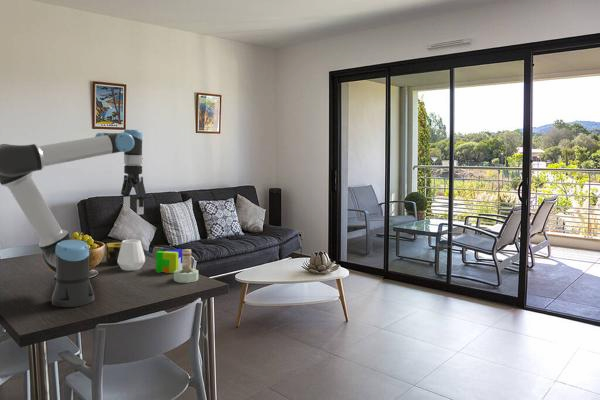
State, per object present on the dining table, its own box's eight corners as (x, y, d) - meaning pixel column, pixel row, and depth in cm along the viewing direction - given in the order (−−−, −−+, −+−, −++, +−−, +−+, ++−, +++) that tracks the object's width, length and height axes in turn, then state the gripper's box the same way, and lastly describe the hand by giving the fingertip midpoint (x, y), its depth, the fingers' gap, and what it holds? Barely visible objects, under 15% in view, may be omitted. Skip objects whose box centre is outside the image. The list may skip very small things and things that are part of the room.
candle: (106, 261, 253) (105, 243, 252) (126, 260, 257) (126, 242, 256) (107, 266, 244) (106, 246, 242) (128, 264, 248) (128, 245, 247)
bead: (182, 283, 215) (182, 275, 215) (170, 279, 223) (170, 270, 222) (201, 280, 222) (202, 271, 222) (190, 275, 230) (190, 267, 229)
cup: (150, 266, 245) (150, 239, 243) (135, 272, 232) (134, 244, 231) (128, 264, 248) (127, 237, 247) (111, 270, 236) (111, 242, 234)
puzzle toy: (182, 268, 243) (183, 249, 242) (175, 273, 233) (175, 253, 232) (163, 267, 244) (163, 248, 243) (156, 272, 234) (156, 252, 233)
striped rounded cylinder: (185, 281, 220) (185, 251, 218) (180, 279, 223) (180, 249, 221) (192, 279, 223) (193, 250, 221) (188, 277, 225) (188, 248, 224)
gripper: (154, 166, 204) (154, 215, 207) (129, 163, 222) (129, 209, 224) (137, 166, 199) (137, 216, 201) (113, 163, 217) (113, 210, 219)
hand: (133, 212), depth 213 cm, fingers open, 13 cm apart
